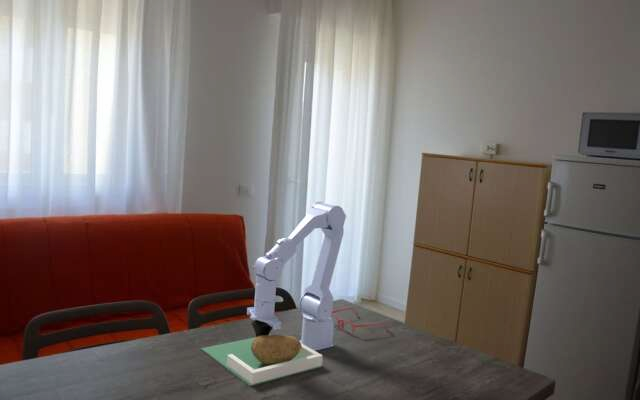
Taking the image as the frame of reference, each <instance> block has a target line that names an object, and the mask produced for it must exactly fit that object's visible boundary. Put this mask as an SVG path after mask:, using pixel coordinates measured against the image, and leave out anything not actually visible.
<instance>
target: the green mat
mask: <svg viewBox="0 0 640 400" xmlns="http://www.w3.org/2000/svg"><path fill="white" fill-rule="evenodd" d="M269 335H271V334H270V333H269ZM255 338H256V336H255V337H249V338H245V339H240V340H235V341H231V342H225V343H220V344H216V345H211V346H206V347H201V348H200V349H201V351H202V352H204V353H205V354H206V355H208V356H209V357H210V358H211V359H213V360H214V361H216V362H217V364H219V365H221V366H222V367H224V368H225V369H227V370H228V371H229V372H230V373H232V374H233V375H234V376H236V378H238V379H239V380H241V381H242V382H244V383H245V384H246V385H247V386H249V387H254V386H257V385H260V384H263V383H268V382H272V381H275V380H278V379H283V378H286V377H290V376H293V375H297V374H301V373H304V372H308V371H312V370H316V369H320V368H322V367H324V364H322V366H319V367H315V368H311V369H307V370H304V371H300V372H296V373H293V374H289V375H285V376H281V377H278V378H274V379H270V380H267V381H263V382H259V383H255V384H251V383H249V382H248V381H247V380H245V379H244V378H242V377H241V376H240V375H238V374H237V373H236V372H234V371H233V370H232V369H230V368H229V367H228V366H227V355H229V354H233V355H234V356H236V357H237V358H239V359H240V360H242V361H243V362H244V363H246V364H247V365H249V366H250V367H252V368H253V369H254V370H255V369H259V368H263V367H267V366H271V365H266V364H263V363H261V362H260V361H258V360H257V359H256V358H255V357H254V355H253V353H252V351H251V345H252V342H253V340H254V339H255ZM299 358H302V357H300V356H299V355H297V356H296V357H294V358H293V359H292V360H295V359H299ZM290 361H291V360H290Z"/></svg>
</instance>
